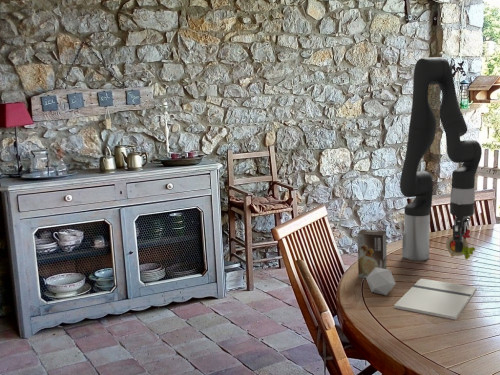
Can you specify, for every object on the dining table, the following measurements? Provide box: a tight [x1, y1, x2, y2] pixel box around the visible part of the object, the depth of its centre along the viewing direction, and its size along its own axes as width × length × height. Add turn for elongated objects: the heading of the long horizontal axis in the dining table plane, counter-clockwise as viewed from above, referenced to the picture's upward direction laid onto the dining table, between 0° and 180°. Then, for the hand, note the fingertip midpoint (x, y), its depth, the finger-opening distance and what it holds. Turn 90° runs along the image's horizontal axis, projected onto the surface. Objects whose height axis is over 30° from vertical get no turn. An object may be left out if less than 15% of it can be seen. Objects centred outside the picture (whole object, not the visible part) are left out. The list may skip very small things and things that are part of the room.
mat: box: [393, 278, 478, 320], centre depth 173 cm, size 18×26×1 cm
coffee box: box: [357, 228, 388, 279], centre depth 193 cm, size 9×6×16 cm
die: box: [365, 267, 396, 296], centre depth 179 cm, size 8×9×10 cm
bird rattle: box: [445, 229, 476, 260], centre depth 187 cm, size 6×11×9 cm
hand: (460, 249), depth 187 cm, fingers closed on bird rattle, 3 cm apart
